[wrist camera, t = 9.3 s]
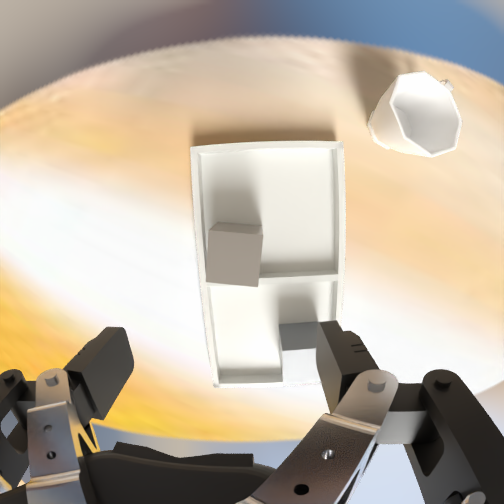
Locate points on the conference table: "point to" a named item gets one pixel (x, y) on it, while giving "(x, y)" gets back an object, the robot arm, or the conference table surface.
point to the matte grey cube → (298, 353)
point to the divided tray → (270, 248)
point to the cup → (416, 116)
